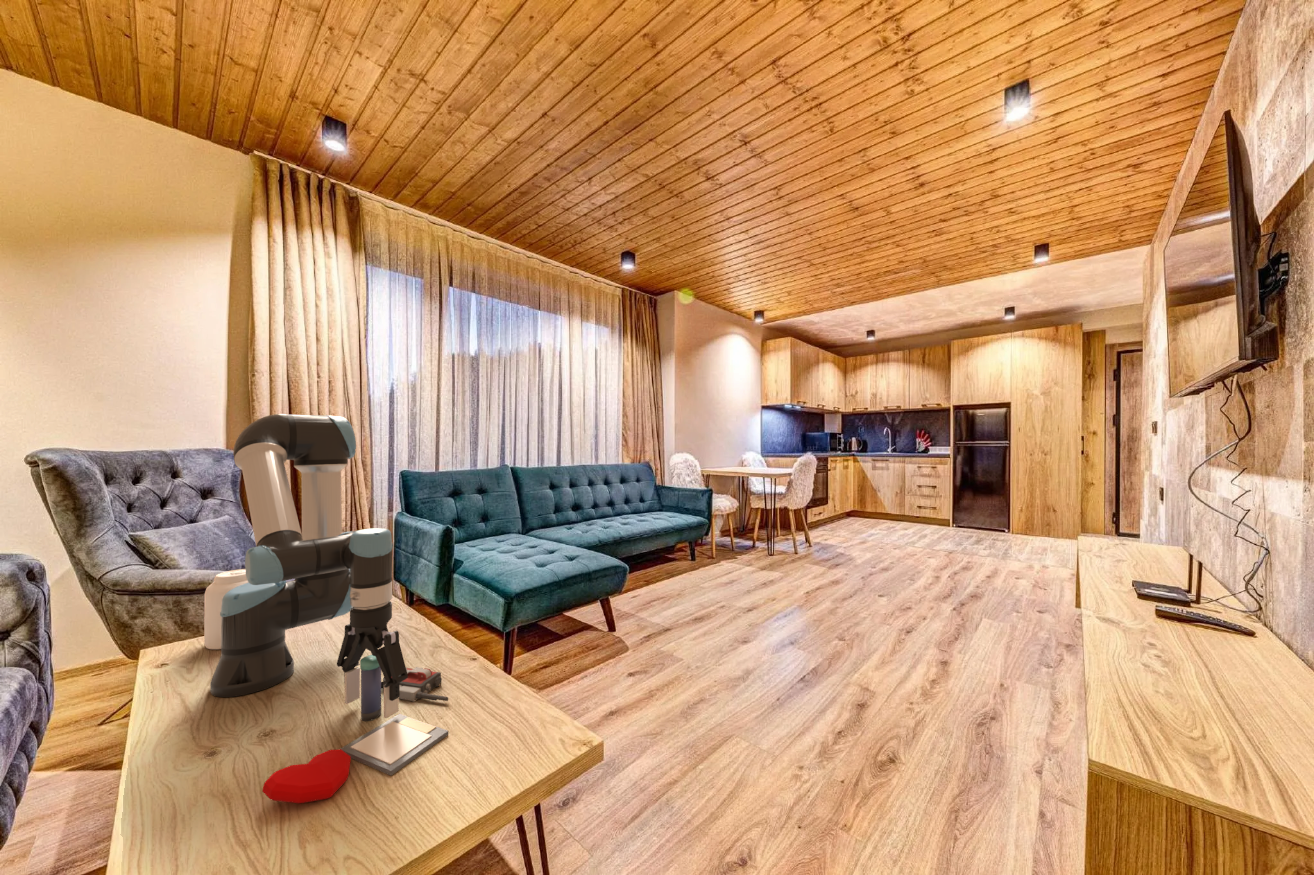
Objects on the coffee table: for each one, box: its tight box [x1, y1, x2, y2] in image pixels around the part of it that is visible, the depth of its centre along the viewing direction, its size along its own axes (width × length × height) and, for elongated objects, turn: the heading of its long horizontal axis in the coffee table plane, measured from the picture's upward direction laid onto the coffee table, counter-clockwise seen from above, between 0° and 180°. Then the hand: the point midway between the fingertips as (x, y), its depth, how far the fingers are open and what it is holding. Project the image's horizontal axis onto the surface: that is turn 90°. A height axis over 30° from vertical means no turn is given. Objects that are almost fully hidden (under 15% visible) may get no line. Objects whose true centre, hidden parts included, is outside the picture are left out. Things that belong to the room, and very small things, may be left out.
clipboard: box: [340, 713, 449, 776], centre depth 87 cm, size 14×12×1 cm
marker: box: [359, 654, 382, 722], centre depth 96 cm, size 4×4×12 cm
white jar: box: [203, 568, 248, 650], centre depth 133 cm, size 12×12×20 cm
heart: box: [262, 748, 352, 804], centre depth 76 cm, size 12×4×10 cm
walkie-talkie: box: [381, 666, 449, 702], centre depth 106 cm, size 9×4×20 cm
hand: (371, 707), depth 96 cm, fingers open, 12 cm apart
